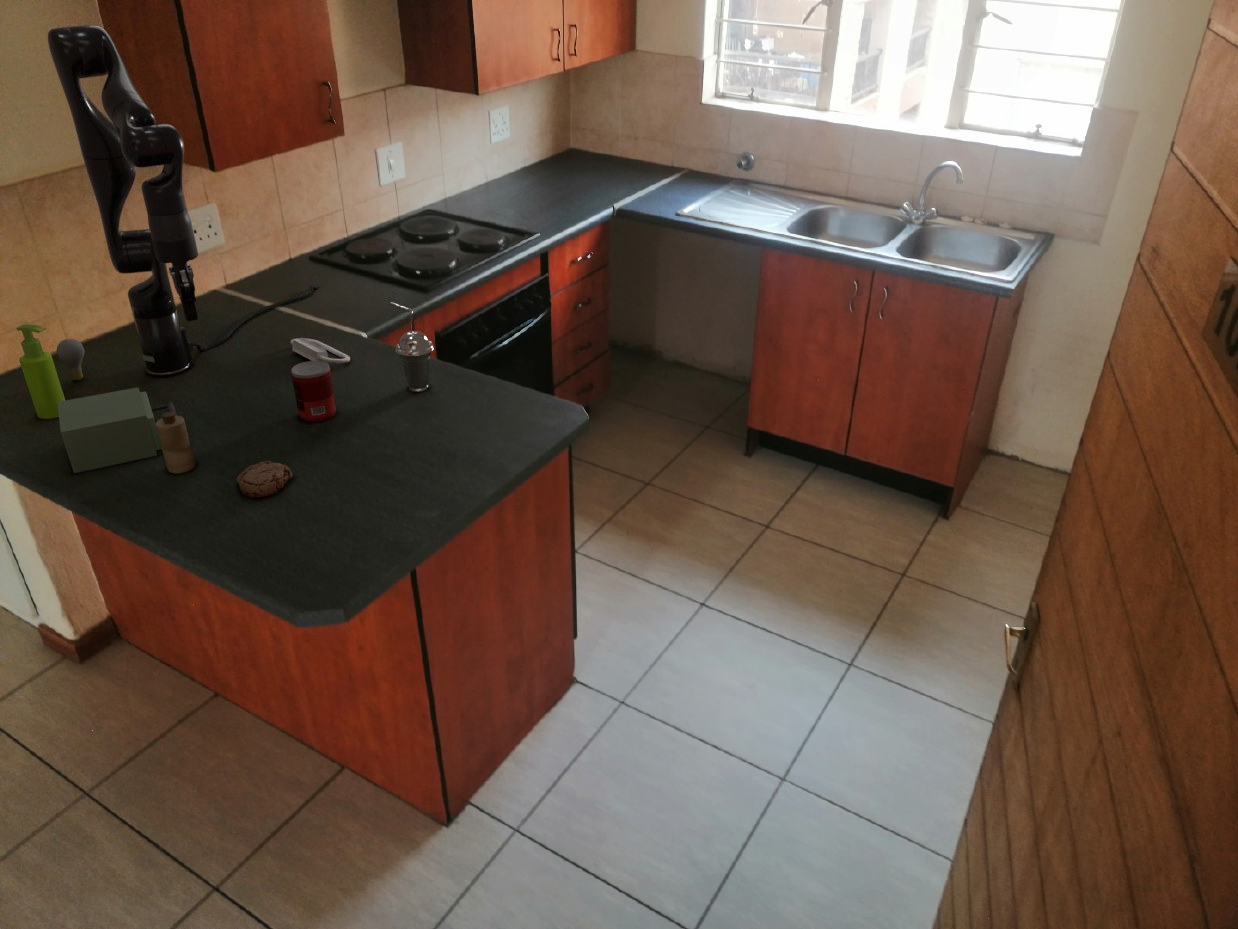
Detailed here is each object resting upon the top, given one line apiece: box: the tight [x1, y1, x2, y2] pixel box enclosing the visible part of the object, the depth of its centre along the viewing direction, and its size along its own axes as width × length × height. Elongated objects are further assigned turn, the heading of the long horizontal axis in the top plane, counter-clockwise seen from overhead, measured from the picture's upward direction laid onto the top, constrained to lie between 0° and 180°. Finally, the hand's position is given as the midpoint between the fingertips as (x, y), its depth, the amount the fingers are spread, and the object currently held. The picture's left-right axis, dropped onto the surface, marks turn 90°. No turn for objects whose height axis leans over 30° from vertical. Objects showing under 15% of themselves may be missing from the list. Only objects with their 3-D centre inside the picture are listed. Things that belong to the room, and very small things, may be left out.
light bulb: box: [56, 338, 85, 381], centre depth 215 cm, size 6×6×10 cm
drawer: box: [140, 391, 178, 451], centre depth 188 cm, size 18×14×7 cm
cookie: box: [236, 460, 294, 498], centre depth 177 cm, size 10×11×3 cm
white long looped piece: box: [289, 337, 351, 364], centre depth 230 cm, size 20×8×4 cm, turn 47°
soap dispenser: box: [16, 324, 66, 420], centre depth 197 cm, size 6×7×20 cm
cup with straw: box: [389, 301, 435, 393], centre depth 211 cm, size 8×9×20 cm
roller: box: [156, 411, 196, 474], centre depth 180 cm, size 5×5×12 cm
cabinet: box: [57, 387, 158, 474], centre depth 187 cm, size 15×15×9 cm
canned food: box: [290, 360, 337, 423], centre depth 200 cm, size 8×8×11 cm
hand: (191, 319), depth 189 cm, fingers closed
